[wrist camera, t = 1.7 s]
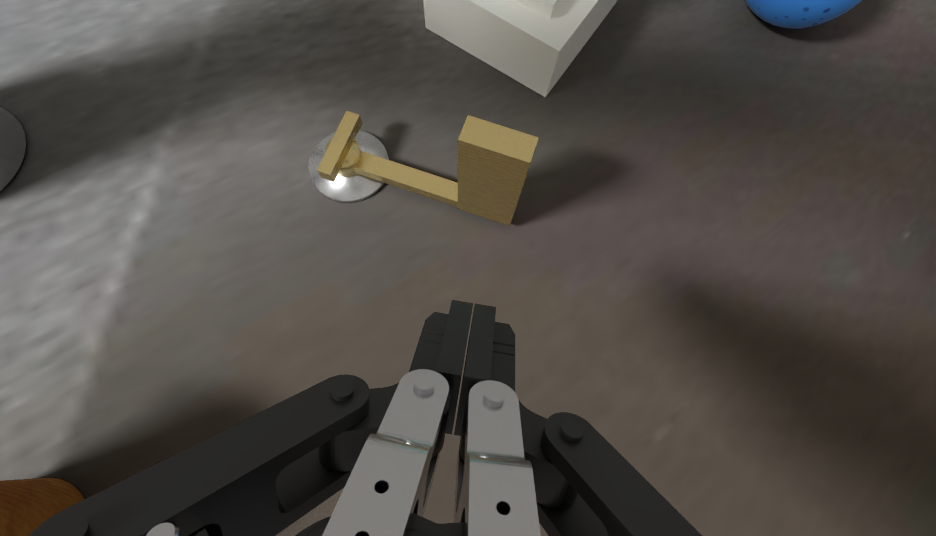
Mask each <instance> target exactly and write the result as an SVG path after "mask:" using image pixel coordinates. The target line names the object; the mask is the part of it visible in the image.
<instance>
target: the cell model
mask: <svg viewBox="0 0 936 536" xmlns="http://www.w3.org/2000/svg"><path fill="white" fill-rule="evenodd" d="M744 1H745V2H746V4H747V5H748V7H749V8H750V9H751V10H752V11H753V13H754V14H755V15H757V16H758V17H759V18H760V19H762V20H763V21H765V22H767V23H769V24H772V25H774V26H778V27H783V28H788V29H801V28H809V27H813V26H816V25H820V24H823V23H826V22H829V21H831V20H833V19H835V18H837V17H839V16H841V15H843V14H845V13H847V12H848V11H850V10H851V9H853V8H854V7H855V6H857V5H858V4H859V3H860V2H862V1H863V0H744Z"/></svg>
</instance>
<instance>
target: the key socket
mask: <svg viewBox="0 0 936 536" xmlns="http://www.w3.org/2000/svg"><path fill="white" fill-rule="evenodd" d="M335 133H336V132H335ZM335 133H332V134H330V135H328V136H327V137H325V138H324V139H323V140H321V141H320V142H319V143H318V144H317V146H316V147H315V148H314V150H313V152H312V154H311V157H310V160H309V174H310V177H311V180H312V182H313V184H314V185H315V187H316V188H317V189H318V190H319V192H320V193H322V194H323V195H324V196H326V197H327V198H329V199H331V200H334V201H337V202H343V203H352V202H358V201H362V200H365V199H367V198H369V197H371V196H372V195H374V194H375V193H376V192H377V191H378V190H379V189H380V188H381V187H382V186H383V184H384V182H381V181H378V180H375V179H372V178H369V177H366V176H363V175H360V174H357V175H355V176H352V177H343V176H340V175H337V177H336V179H335V181H334V182H333V181H330V180H327V179H324V178H321V177H320V175H319V174H318V172H317V169H318V167H319V165H320V163H321V161H322V159H323V157H324V155H325V148H326V145H327V143H328V142H329V141H330V140H331V139H332V138H333V137H334V135H335ZM355 140H356V141H357V143H358V145H359V147H360V150H361V151H363V152H366V153H369V154H372V155H375V156H378V157H381V158H384V159H387V160H389V158H388V154H387V151H386V149H385V147H384V145H383V144H382V143H381V142H380V141H379V140H378V139H377V138H376V137H375V136H373V135H371V134H369V133H367V132H365V131H361V130H359V132H358V134H357V136H356V138H355Z"/></svg>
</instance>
